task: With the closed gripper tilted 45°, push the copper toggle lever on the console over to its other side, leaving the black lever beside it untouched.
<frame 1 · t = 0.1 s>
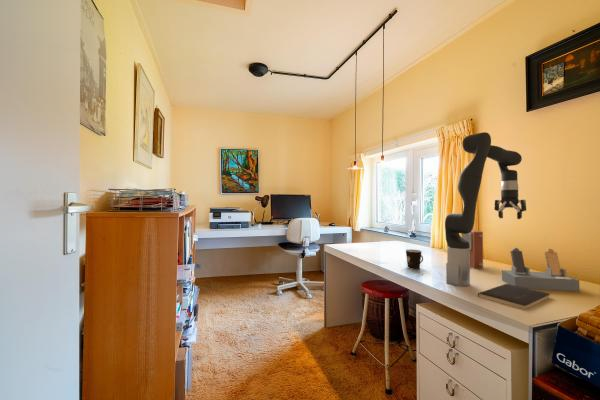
hand: (509, 218, 150), 29 cm above the table, tool pointing down, fingers open, 8 cm apart
hardcover book: (513, 299, 111), on the table
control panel: (471, 266, 164), on the table
lever console: (538, 285, 126), on the table
copper lever: (552, 261, 126), point 11 cm above the table, hinge at -20.0°
coffee mug: (414, 268, 159), on the table
black lever: (517, 260, 130), point 11 cm above the table, hinge at -20.0°
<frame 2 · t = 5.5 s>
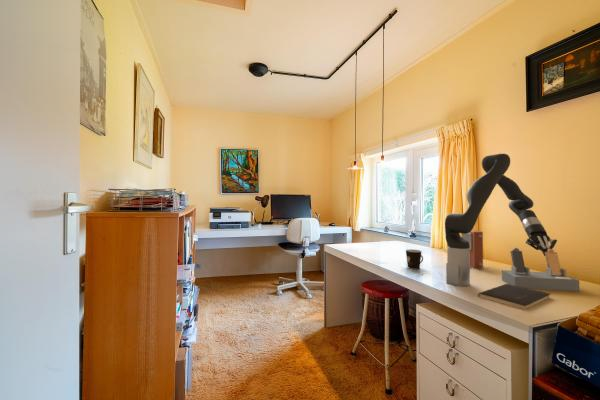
hand: (549, 256, 128), 13 cm above the table, tool tilted 45°, fingers closed
copper lever: (552, 261, 126), point 11 cm above the table, hinge at -19.3°, touching gripper
everything else where it was.
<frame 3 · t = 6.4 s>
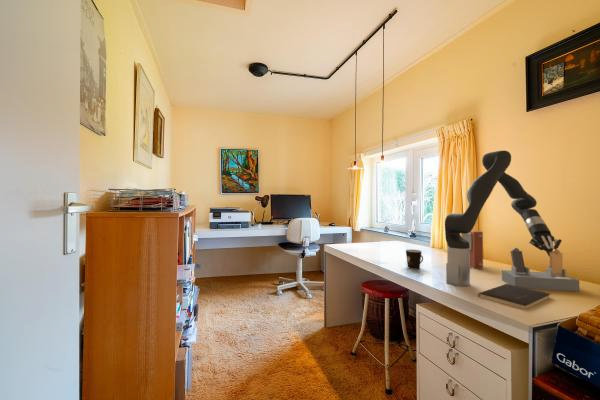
hand: (554, 257, 125), 13 cm above the table, tool tilted 45°, fingers closed
copper lever: (556, 261, 124), point 11 cm above the table, hinge at 0.7°, touching gripper
everything else where it was.
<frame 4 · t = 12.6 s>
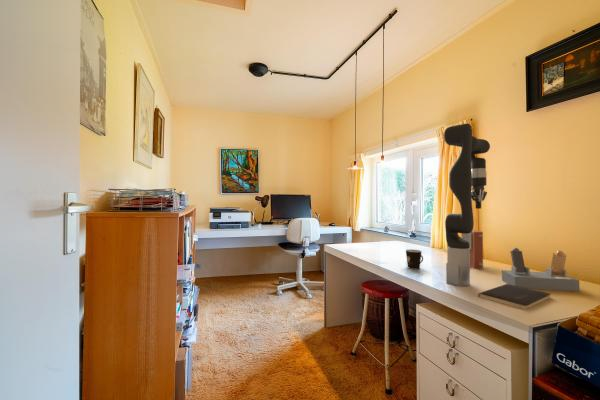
hand: (478, 208, 151), 35 cm above the table, tool pointing down, fingers closed
copper lever: (558, 262, 123), point 11 cm above the table, hinge at 14.2°
everything else where it was.
at the end: copper lever at +14° (first picture: -20°); black lever at -20° (first picture: -20°) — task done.
